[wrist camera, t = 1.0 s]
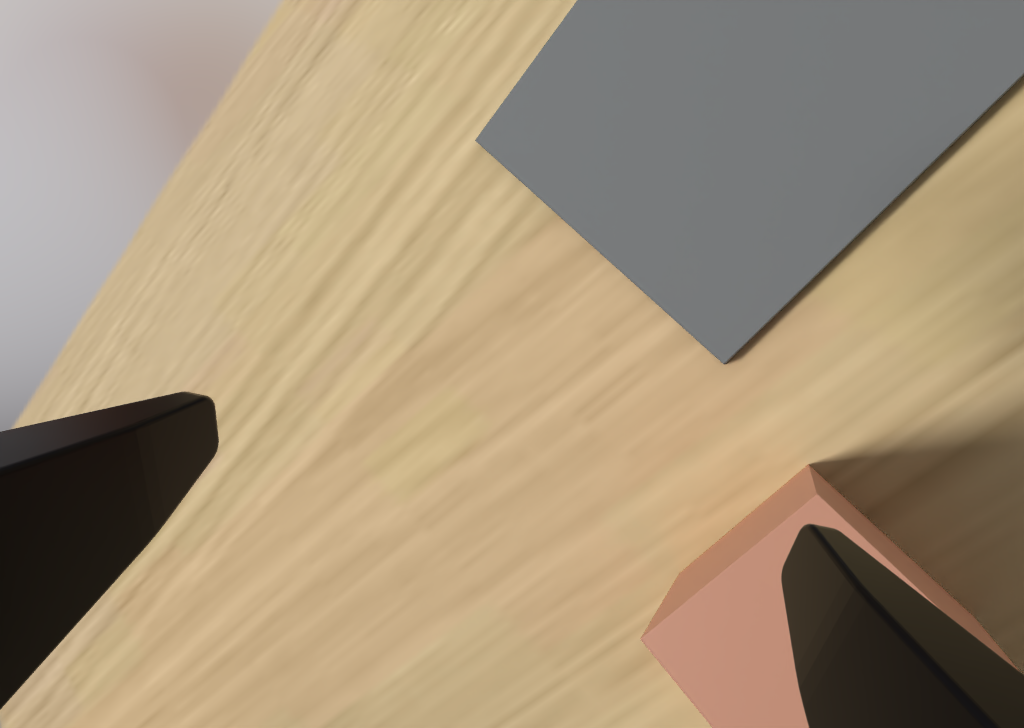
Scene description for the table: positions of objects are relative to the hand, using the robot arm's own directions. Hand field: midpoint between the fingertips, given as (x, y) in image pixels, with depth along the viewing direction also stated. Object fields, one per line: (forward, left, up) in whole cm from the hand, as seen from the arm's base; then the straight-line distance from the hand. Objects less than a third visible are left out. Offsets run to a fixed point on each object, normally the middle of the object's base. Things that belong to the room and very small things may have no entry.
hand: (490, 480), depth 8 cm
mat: (+6, -9, -10) cm, 15 cm away
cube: (-6, 0, -10) cm, 12 cm away
